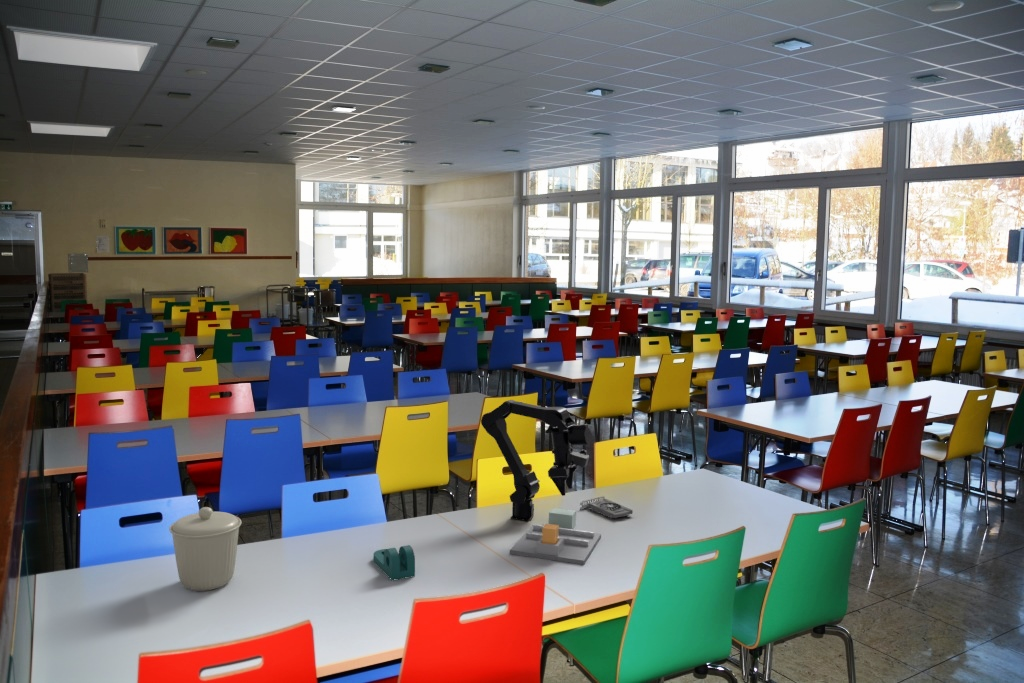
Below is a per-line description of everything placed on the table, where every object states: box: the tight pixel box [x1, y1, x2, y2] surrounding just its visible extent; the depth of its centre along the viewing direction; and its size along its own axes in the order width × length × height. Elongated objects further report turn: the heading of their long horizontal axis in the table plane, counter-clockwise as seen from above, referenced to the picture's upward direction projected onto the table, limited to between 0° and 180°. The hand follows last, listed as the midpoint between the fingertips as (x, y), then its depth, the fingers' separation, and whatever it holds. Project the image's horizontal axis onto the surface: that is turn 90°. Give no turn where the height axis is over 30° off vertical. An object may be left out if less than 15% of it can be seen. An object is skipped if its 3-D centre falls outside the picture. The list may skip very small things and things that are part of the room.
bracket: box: [373, 544, 416, 581], centre depth 229 cm, size 18×7×8 cm, turn 29°
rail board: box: [509, 523, 602, 565], centre depth 248 cm, size 23×24×4 cm
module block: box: [548, 507, 577, 529], centre depth 266 cm, size 8×5×5 cm, turn 71°
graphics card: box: [579, 495, 634, 519], centre depth 281 cm, size 17×4×12 cm
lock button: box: [542, 523, 559, 545], centre depth 240 cm, size 4×4×5 cm
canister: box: [168, 506, 242, 592], centre depth 214 cm, size 18×18×21 cm
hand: (567, 492), depth 265 cm, fingers open, 9 cm apart
